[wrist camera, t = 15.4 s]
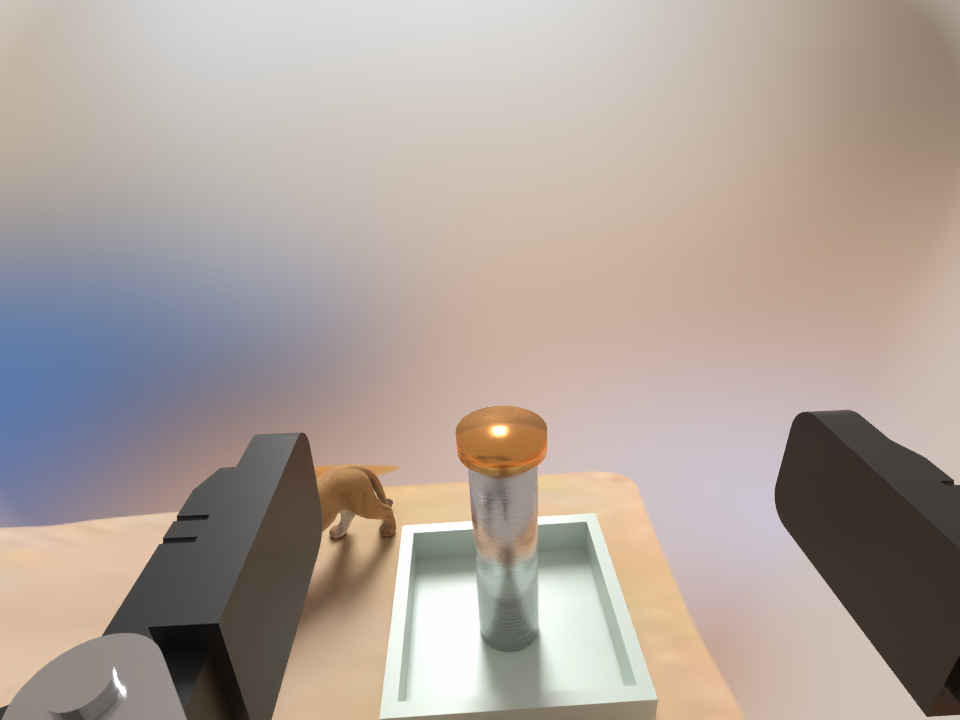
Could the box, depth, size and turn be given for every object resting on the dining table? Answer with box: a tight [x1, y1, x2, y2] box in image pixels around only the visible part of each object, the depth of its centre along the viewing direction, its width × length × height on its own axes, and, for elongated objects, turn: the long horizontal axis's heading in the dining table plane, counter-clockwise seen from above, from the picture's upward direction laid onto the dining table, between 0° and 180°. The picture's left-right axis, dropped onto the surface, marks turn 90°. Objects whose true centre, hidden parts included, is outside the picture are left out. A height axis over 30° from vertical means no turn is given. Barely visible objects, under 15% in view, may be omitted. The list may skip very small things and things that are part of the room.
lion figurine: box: [316, 464, 396, 538], centre depth 39 cm, size 15×5×9 cm, turn 146°
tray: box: [380, 513, 658, 720], centre depth 34 cm, size 14×14×3 cm
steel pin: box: [456, 406, 547, 652], centre depth 32 cm, size 5×5×14 cm
